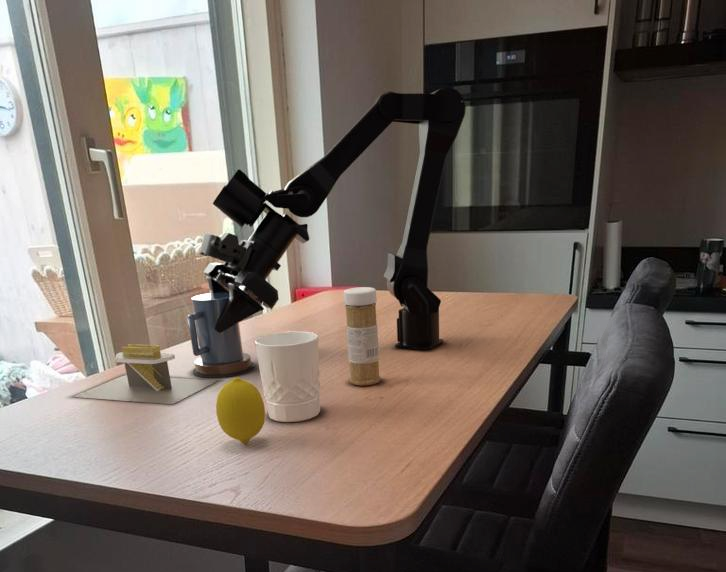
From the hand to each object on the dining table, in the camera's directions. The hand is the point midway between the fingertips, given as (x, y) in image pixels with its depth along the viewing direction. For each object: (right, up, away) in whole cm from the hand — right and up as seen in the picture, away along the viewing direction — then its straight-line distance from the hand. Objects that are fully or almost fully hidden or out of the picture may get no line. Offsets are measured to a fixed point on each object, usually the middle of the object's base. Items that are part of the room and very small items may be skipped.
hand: (209, 327), depth 111 cm
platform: (-9, -10, -4) cm, 14 cm away
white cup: (+15, -16, -20) cm, 30 cm away
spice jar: (+25, -10, -8) cm, 28 cm away
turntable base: (+2, -6, +4) cm, 7 cm away
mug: (+2, -6, +4) cm, 7 cm away
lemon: (+11, -20, -28) cm, 37 cm away
